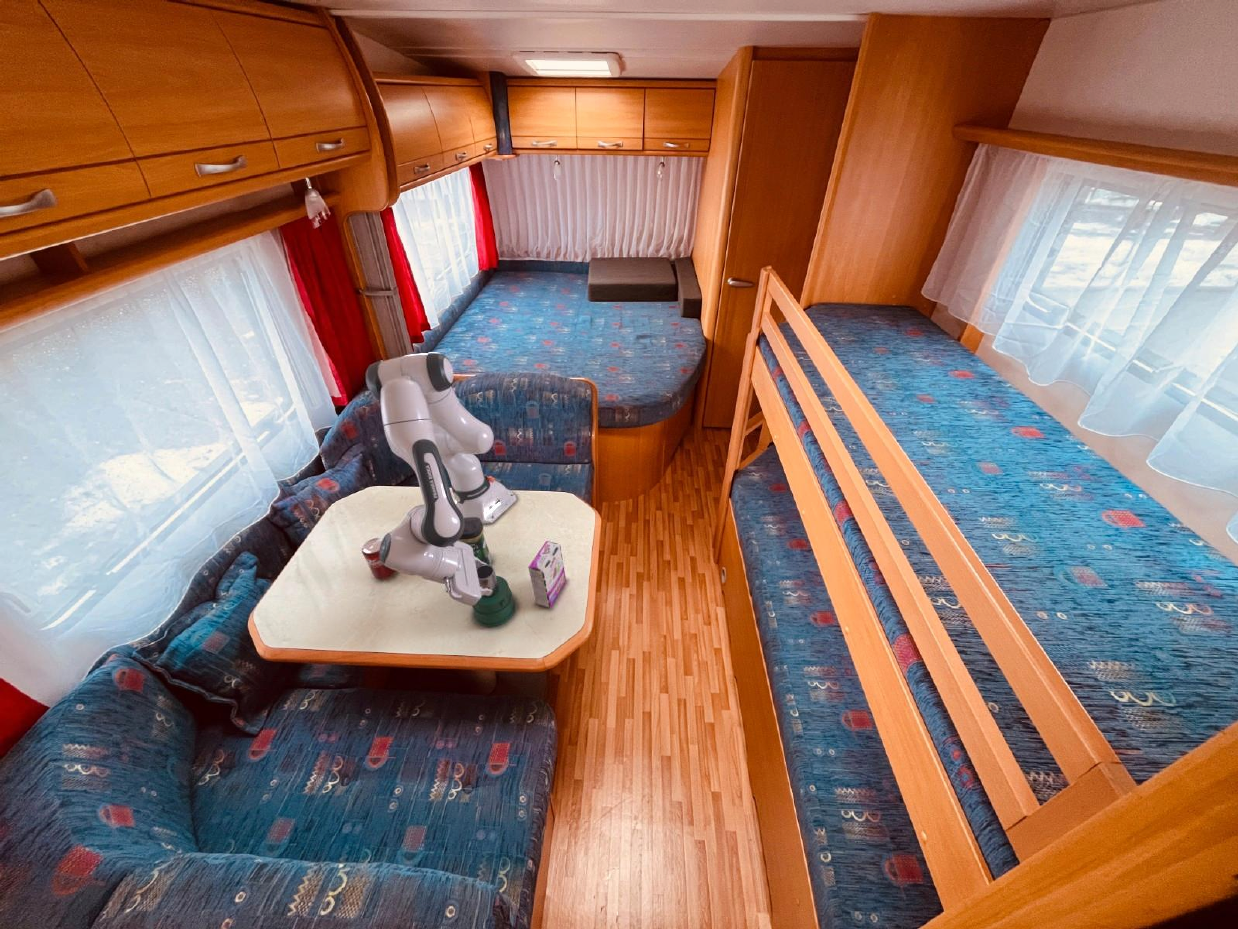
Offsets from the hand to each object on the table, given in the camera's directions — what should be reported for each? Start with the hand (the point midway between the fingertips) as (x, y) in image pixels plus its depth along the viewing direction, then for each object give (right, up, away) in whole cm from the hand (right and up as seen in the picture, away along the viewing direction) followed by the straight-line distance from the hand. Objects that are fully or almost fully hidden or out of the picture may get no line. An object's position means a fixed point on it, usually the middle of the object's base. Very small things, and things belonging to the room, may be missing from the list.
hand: (488, 579), depth 131 cm
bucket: (0, -11, +8) cm, 13 cm away
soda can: (-39, -3, +21) cm, 44 cm away
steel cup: (0, -4, +2) cm, 4 cm away
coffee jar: (-10, -1, +23) cm, 25 cm away
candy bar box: (+16, -7, +12) cm, 21 cm away
